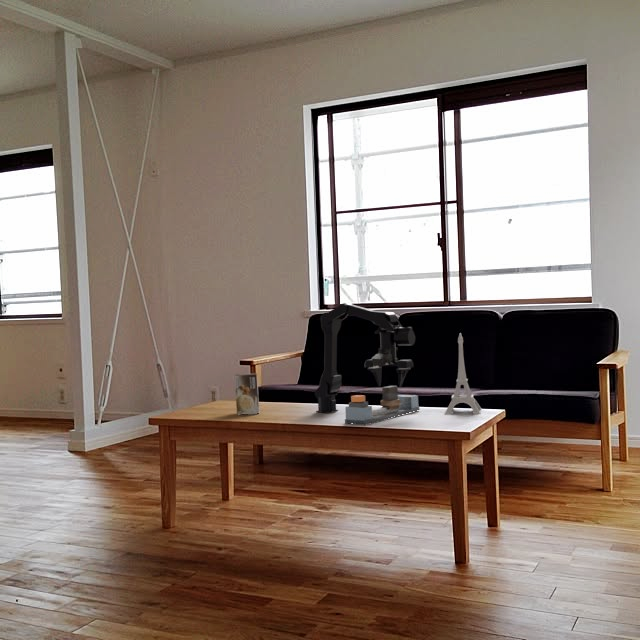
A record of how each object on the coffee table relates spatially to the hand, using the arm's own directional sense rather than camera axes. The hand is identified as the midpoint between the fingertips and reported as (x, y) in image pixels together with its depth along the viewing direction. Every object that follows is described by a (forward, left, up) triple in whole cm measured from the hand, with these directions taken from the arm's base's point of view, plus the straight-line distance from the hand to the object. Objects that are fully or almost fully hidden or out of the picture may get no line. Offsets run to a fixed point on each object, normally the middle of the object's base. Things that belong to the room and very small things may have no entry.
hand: (389, 386), depth 298 cm
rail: (0, -5, -11) cm, 12 cm away
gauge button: (0, -21, -3) cm, 21 cm away
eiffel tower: (+21, +18, -11) cm, 30 cm away
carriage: (0, 0, -9) cm, 9 cm away
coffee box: (-57, -18, -11) cm, 61 cm away
